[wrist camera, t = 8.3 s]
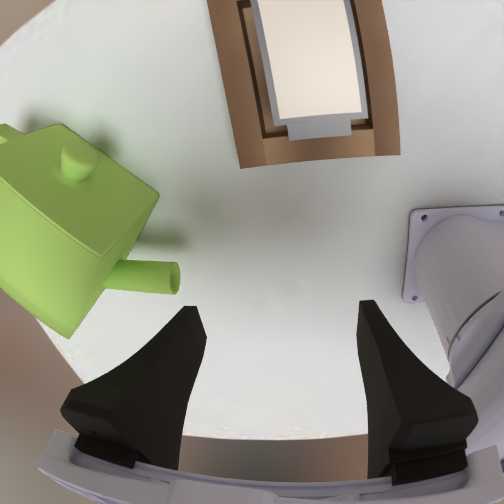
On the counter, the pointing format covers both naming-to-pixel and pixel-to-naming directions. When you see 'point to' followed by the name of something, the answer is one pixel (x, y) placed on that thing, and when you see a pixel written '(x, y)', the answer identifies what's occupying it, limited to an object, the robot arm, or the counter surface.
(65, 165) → the gearbox
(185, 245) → the counter surface
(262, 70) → the pocket block
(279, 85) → the block
